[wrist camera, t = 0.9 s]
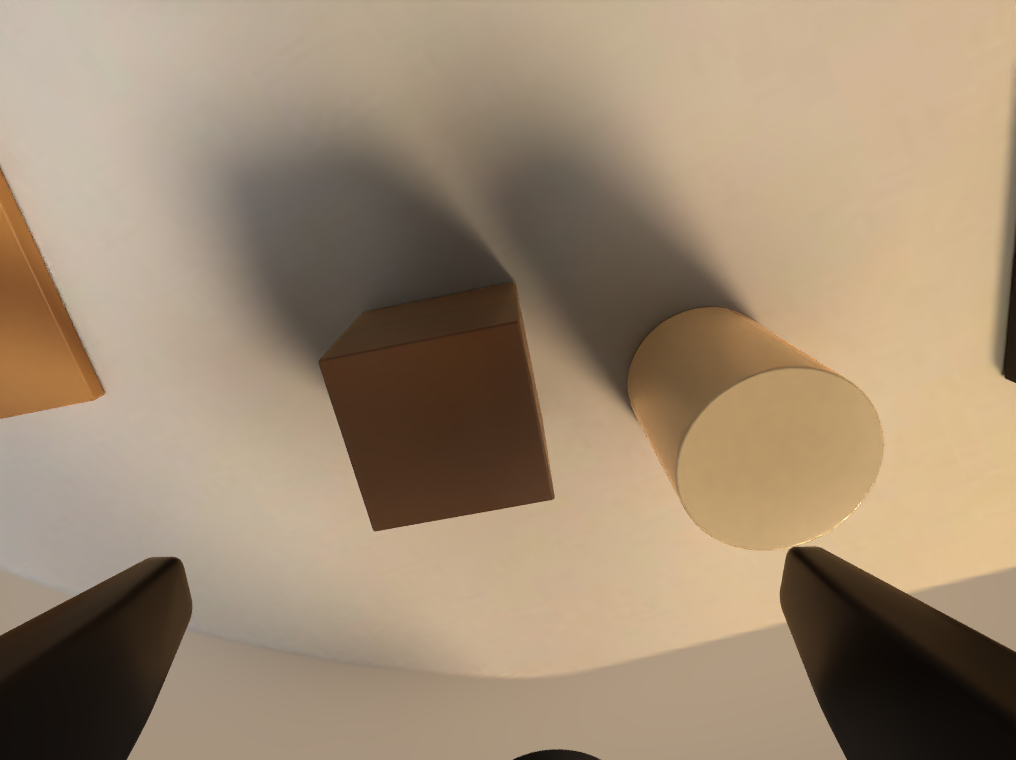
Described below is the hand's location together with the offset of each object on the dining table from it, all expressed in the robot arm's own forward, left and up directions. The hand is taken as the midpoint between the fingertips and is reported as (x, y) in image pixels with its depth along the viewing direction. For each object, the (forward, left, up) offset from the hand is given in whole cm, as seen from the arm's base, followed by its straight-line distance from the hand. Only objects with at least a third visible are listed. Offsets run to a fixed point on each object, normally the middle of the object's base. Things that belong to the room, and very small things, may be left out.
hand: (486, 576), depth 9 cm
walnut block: (0, +1, -11) cm, 11 cm away
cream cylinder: (-2, -7, -11) cm, 13 cm away
